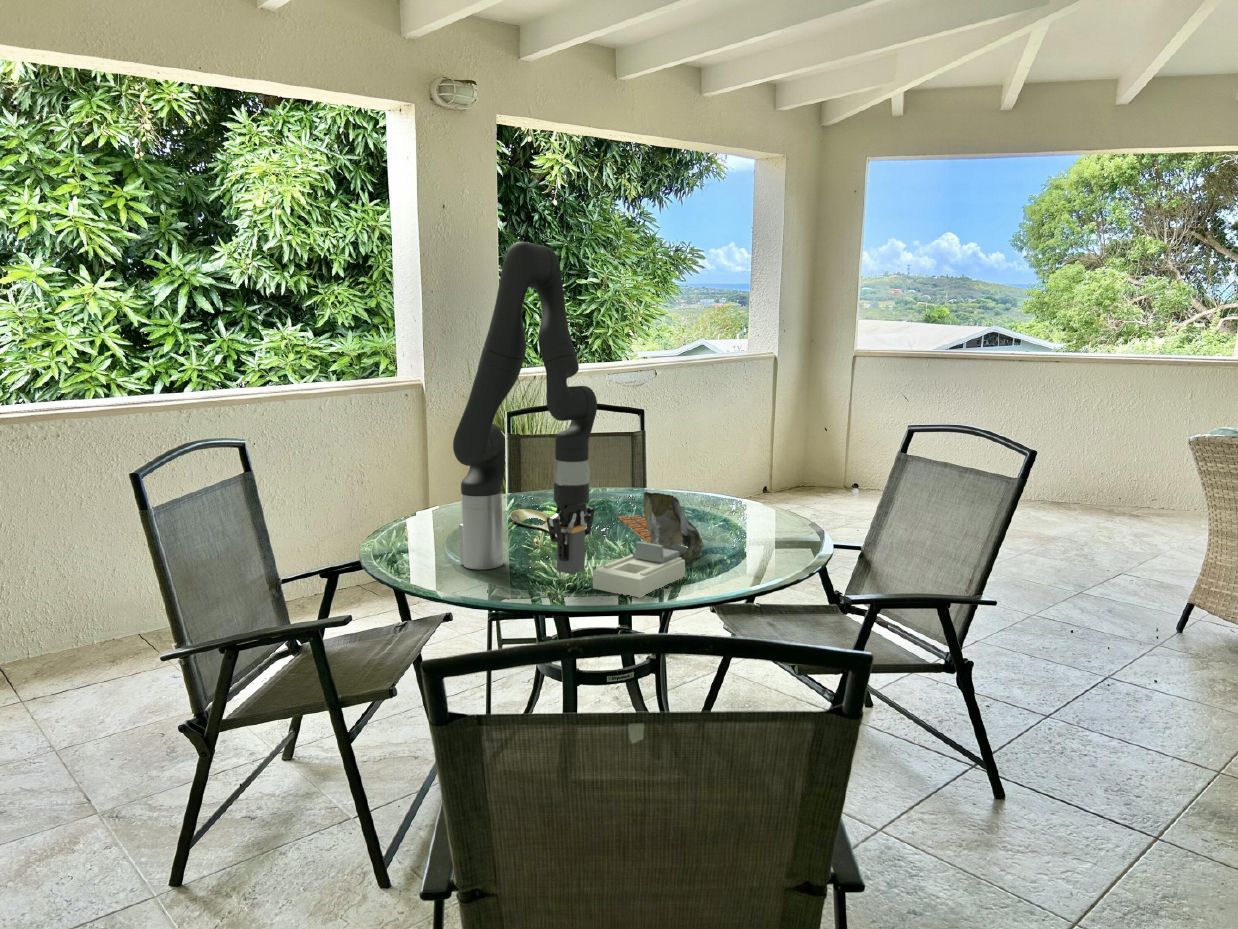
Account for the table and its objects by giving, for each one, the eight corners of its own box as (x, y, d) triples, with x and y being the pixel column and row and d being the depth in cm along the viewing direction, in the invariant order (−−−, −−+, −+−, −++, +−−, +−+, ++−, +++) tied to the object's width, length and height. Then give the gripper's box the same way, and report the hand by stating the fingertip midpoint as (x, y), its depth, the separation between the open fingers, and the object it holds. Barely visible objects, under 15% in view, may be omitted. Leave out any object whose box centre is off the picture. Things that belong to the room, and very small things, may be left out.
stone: (695, 588, 213) (698, 533, 240) (706, 551, 209) (707, 499, 237) (624, 571, 213) (635, 518, 241) (634, 534, 209) (644, 484, 237)
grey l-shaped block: (632, 557, 202) (632, 541, 202) (649, 551, 208) (649, 535, 207) (663, 563, 198) (663, 547, 197) (679, 556, 203) (679, 540, 203)
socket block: (592, 588, 194) (592, 568, 194) (639, 568, 209) (639, 549, 208) (639, 598, 188) (639, 577, 187) (684, 577, 202) (684, 557, 201)
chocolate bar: (663, 517, 264) (663, 512, 263) (702, 542, 235) (702, 536, 235) (615, 520, 259) (615, 516, 259) (649, 546, 231) (650, 540, 231)
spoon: (587, 547, 235) (587, 540, 234) (549, 552, 230) (549, 545, 230) (536, 513, 265) (536, 506, 265) (502, 516, 260) (502, 509, 260)
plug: (557, 570, 196) (557, 525, 194) (569, 566, 199) (569, 522, 198) (572, 574, 194) (572, 528, 192) (584, 570, 197) (584, 525, 195)
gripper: (578, 473, 201) (578, 548, 204) (536, 482, 190) (535, 562, 193) (605, 477, 197) (604, 554, 200) (563, 487, 185) (563, 568, 188)
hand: (570, 557), depth 196 cm, fingers closed on plug, 4 cm apart
